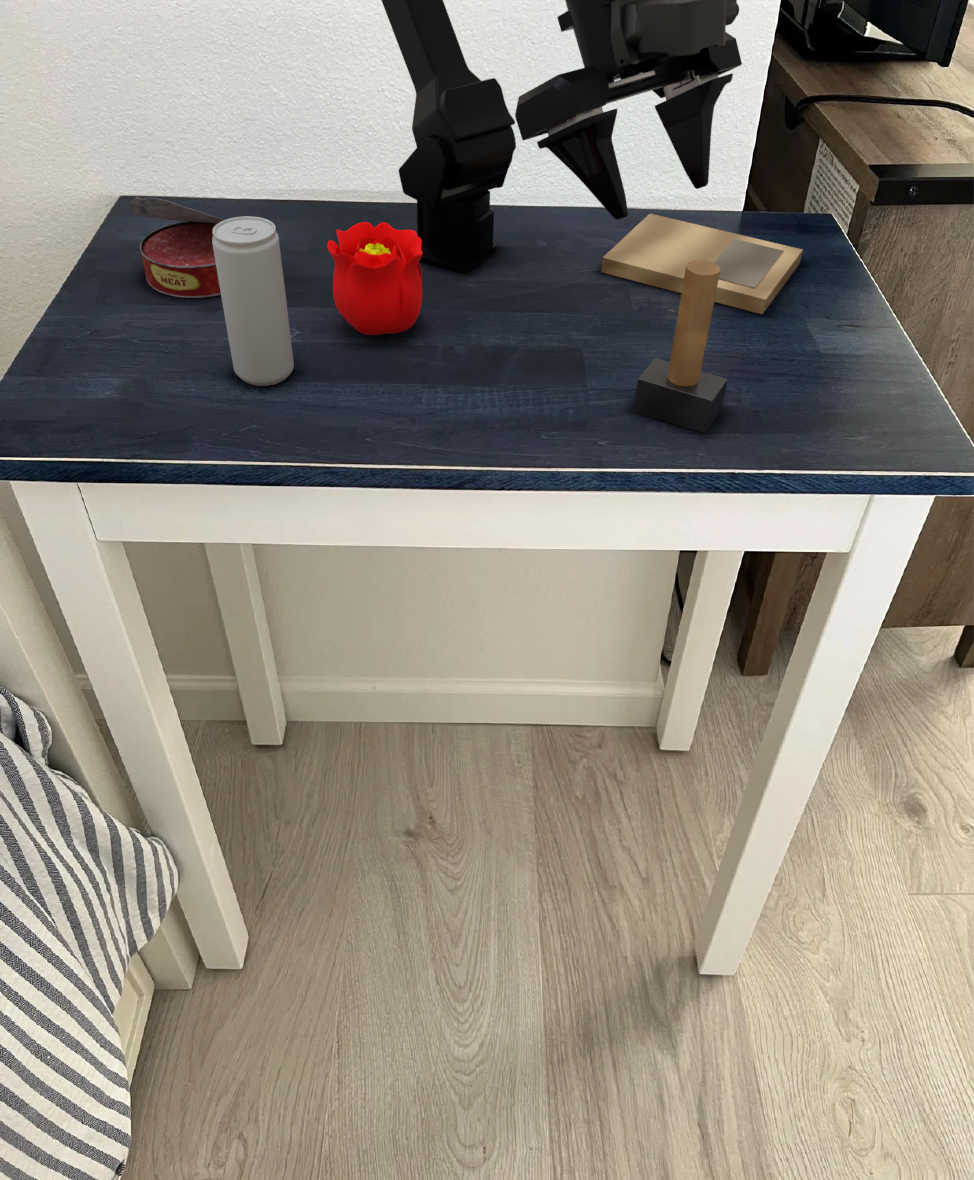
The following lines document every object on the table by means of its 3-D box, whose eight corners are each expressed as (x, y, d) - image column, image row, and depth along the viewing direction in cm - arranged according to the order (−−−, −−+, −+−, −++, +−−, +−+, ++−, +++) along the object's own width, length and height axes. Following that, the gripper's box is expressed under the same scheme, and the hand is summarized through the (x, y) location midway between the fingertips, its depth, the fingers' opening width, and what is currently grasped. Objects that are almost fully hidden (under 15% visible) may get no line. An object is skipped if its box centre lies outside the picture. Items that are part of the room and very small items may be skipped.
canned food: (153, 319, 97) (103, 215, 93) (246, 281, 101) (201, 179, 97) (184, 312, 87) (129, 196, 84) (284, 270, 91) (237, 157, 87)
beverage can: (282, 392, 80) (263, 246, 72) (225, 384, 80) (199, 239, 72) (303, 361, 83) (286, 219, 75) (247, 354, 84) (225, 212, 76)
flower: (433, 311, 90) (432, 224, 85) (416, 355, 84) (414, 264, 79) (347, 303, 91) (340, 216, 85) (324, 346, 85) (316, 255, 80)
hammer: (632, 411, 79) (654, 266, 71) (650, 390, 81) (672, 247, 73) (705, 434, 77) (736, 287, 69) (720, 411, 79) (752, 267, 71)
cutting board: (600, 272, 96) (602, 256, 95) (647, 227, 104) (650, 212, 103) (762, 314, 91) (766, 298, 90) (799, 264, 99) (803, 248, 98)
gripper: (585, -55, 61) (658, 207, 65) (773, -89, 70) (824, 142, 75) (479, 19, 70) (549, 244, 74) (657, -20, 79) (710, 183, 84)
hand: (663, 202), depth 76 cm, fingers open, 9 cm apart
